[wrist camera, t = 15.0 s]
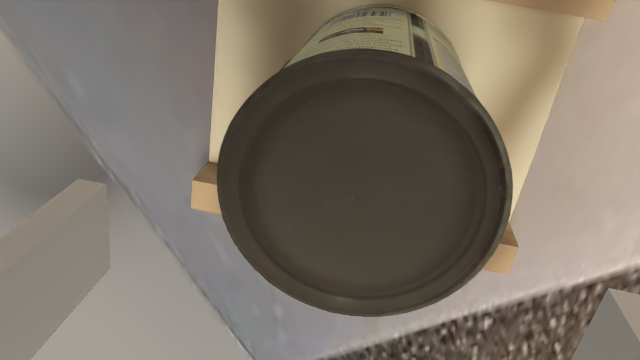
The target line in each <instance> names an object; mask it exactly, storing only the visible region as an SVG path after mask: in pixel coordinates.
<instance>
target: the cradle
mask: <svg viewBox="0 0 640 360" xmlns="http://www.w3.org/2000/svg"><path fill="white" fill-rule="evenodd" d="M614 2H615V0H219V2H218V19H217V36H216V52H215V69H214V86H213V103H212V120H211V137H210V154H209V162H208V163H207V164H206V165H205V166H204V168H203V169H202V170H201V171H200V172H199V173H198V174H197V175H196V177H195V178H194V179H193V180H192V199H191V208H193V209H198V210H202V211H207V212H212V213H217V214H221V215H222V213H221V210H220V205H219V200H218V192H217V163H218V157H219V152H220V147H221V144H222V141H223V138H224V135H225V133H226V131H227V128H228V126H229V124H230V122H231V120H232V119H233V117H234V116H235V114H236V113H237V111H238V110H239V108H240V107H241V106H242V104H243V103H244V102H245V100H246V99H247V98H248V97H249V96H250V95H251V94H252V93H253V92H254V91H255V90H256V89H257V88H258V87H259V86H260V85H262V84H263V83H264V82H265V81H266V80H267V79H269V78H270V77H271V76H273V75H274V74H276V73H277V72H279V71H280V69H281V68H282V67H283V66H284V65H285V64H286V62H288V61H289V60H290V59H291V58H292V57H293V56H294V55H295V54H296V53H297V52H298V51H299V50H300V49H301V48H302V47H303V46H304V44H306V42H307V41H308V39H309V38H310V37H311V35H312V34H313V33H314V32H315V31H316V30H317V29H318V28H319V27H320V26H321V25H322V24H323V23H324V22H326V21H328V20H329V19H331V18H332V17H334V16H336V15H337V14H339V13H342V12H344V11H346V10H349V9H352V8H355V7H359V6H363V5H371V4H393V5H395V6H401V7H404V8H407V9H410V10H412V11H415V12H417V13H419V14H421V15H423V16H424V17H426V18H428V19H429V20H430V21H432V22H433V23H434V24H435V25H436V26H438V27H439V28H440V29H441V31H442V32H443V33H444V34H445V35H446V36H447V37H448V39H449V40H450V41H451V43H452V45H453V47H454V49H455V51H456V53H457V55H458V57H459V60H460V63H461V66H462V68H463V70H464V72H465V74H466V76H467V78H468V80H469V82H470V85H471V87H472V89H473V91H474V93H475V95H476V97H477V99H478V100H479V101H480V102H481V104H482V105H483V106H484V108H485V109H486V110H487V112H488V113H489V114H490V116H491V118H492V119H493V121H494V123H495V125H496V126H497V128H498V130H499V132H500V134H501V136H502V139H503V142H504V144H505V146H506V149H507V152H508V156H509V160H510V165H511V169H512V178H513V198H512V205H511V212H510V217H509V221H510V219H511V216H512V213H513V210H514V208H515V205H516V202H517V200H518V197H519V194H520V191H521V189H522V186H523V183H524V181H525V178H526V175H527V173H528V170H529V167H530V164H531V162H532V159H533V156H534V154H535V151H536V148H537V145H538V143H539V140H540V137H541V135H542V132H543V129H544V127H545V124H546V121H547V118H548V116H549V113H550V110H551V108H552V105H553V102H554V99H555V97H556V94H557V91H558V89H559V86H560V83H561V81H562V78H563V75H564V72H565V70H566V67H567V64H568V62H569V59H570V56H571V53H572V51H573V48H574V45H575V43H576V40H577V37H578V35H579V32H580V29H581V26H582V24H583V21H584V18H589V19H595V20H601V21H607V20H608V17H609V14H610V12H611V9H612V7H613V4H614ZM509 221H508V224H507V226H506V229H505V232H504V235H503V237H502V239H501V241H500V243H499V245H498V247H497V249H496V250H495V252H494V254H493V255H492V257H491V258H490V259H489V261H488V262H487V263H486V265H485V266H484V267H483V268H482V269H483V270H488V271H493V272H497V273H502V274H507V275H508V274H509V271H510V269H511V266H512V263H513V261H514V258H515V256H516V253H517V251H518V248H519V247H518V244H517V242H516V239H515V236H514V234H513V231H512V229H511V226H510V223H509Z"/></svg>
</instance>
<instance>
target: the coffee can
mask: <svg viewBox="0 0 640 360" xmlns="http://www.w3.org/2000/svg"><path fill="white" fill-rule="evenodd" d="M217 192H218V200H219V205H220V210H221V213H222V217H223V220H224V222H225V225H226V227H227V230H228V232H229V234H230V236H231V238H232V239H233V241H234V243H235V245H236V246H237V247H238V249H239V251H240V252H241V253H242V255H243V256H244V257H245V258H246V260H247V261H248V262H249V263H250V264H251V265H252V267H253V268H254V269H255V270H256V271H257V272H259V273H260V274H261V275H262V276H263V277H264V278H265V279H266V280H267V281H268V282H270V283H271V284H272V285H273V286H275V287H276V288H278V289H279V290H281V291H282V292H284V293H286V294H287V295H289V296H291V297H292V298H294V299H297V300H299V301H301V302H303V303H305V304H308V305H310V306H313V307H316V308H319V309H322V310H325V311H328V312H332V313H337V314H343V315H350V316H363V317H381V316H391V315H397V314H403V313H407V312H411V311H415V310H417V309H421V308H424V307H426V306H429V305H432V304H434V303H437V302H439V301H440V300H442V299H444V298H446V297H448V296H450V295H451V294H453V293H454V292H456V291H457V290H459V289H460V288H462V287H463V286H464V285H465V284H466V283H468V282H469V281H470V280H471V279H472V278H474V277H475V276H476V275H477V274H478V273H479V271H480V270H481V269H482V268H483V267H484V266H485V265H486V263H487V262H488V261H489V259H490V258H491V257H492V255H493V254H494V252H495V250H496V249H497V247H498V245H499V243H500V241H501V239H502V237H503V235H504V232H505V229H506V226H507V224H508V221H509V217H510V212H511V205H512V198H513V178H512V169H511V165H510V160H509V156H508V152H507V149H506V146H505V144H504V142H503V139H502V136H501V134H500V132H499V130H498V128H497V126H496V125H495V123H494V121H493V119H492V118H491V116H490V114H489V113H488V112H487V110H486V109H485V108H484V106H483V105H482V104H481V102H480V101H479V100H478V99H477V97H476V95H475V93H474V91H473V89H472V87H471V85H470V82H469V80H468V78H467V76H466V74H465V72H464V70H463V68H462V66H461V63H460V60H459V57H458V55H457V53H456V51H455V49H454V47H453V45H452V43H451V41H450V40H449V39H448V37H447V36H446V35H445V34H444V33H443V32H442V31H441V29H440V28H439V27H438V26H436V25H435V24H434V23H433V22H432V21H430V20H429V19H428V18H426V17H424V16H423V15H421V14H419V13H417V12H415V11H412V10H410V9H407V8H404V7H401V6H395V5H393V4H371V5H363V6H359V7H355V8H352V9H349V10H346V11H344V12H342V13H339V14H337V15H336V16H334V17H332V18H331V19H329V20H328V21H326V22H324V23H323V24H322V25H321V26H320V27H319V28H318V29H317V30H316V31H315V32H314V33H313V34H312V35H311V37H310V38H309V39H308V41H307V42H306V44H304V46H303V47H302V48H301V49H300V50H299V51H298V52H297V53H296V54H295V55H294V56H293V57H292V58H291V59H290V60H289V61H288V62H286V64H285V65H284V66H283V67H282V68H281V69H280V71H279V72H277V73H276V74H274V75H273V76H271V77H270V78H269V79H267V80H266V81H265V82H264V83H263V84H262V85H260V86H259V87H258V88H257V89H256V90H255V91H254V92H253V93H252V94H251V95H250V96H249V97H248V98H247V99H246V100H245V102H244V103H243V104H242V106H241V107H240V108H239V110H238V111H237V113H236V114H235V116H234V117H233V119H232V120H231V122H230V124H229V126H228V128H227V131H226V133H225V135H224V138H223V141H222V144H221V147H220V152H219V157H218V163H217Z"/></svg>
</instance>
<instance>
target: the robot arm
mask: <svg viewBox="0 0 640 360" xmlns="http://www.w3.org/2000/svg"><path fill="white" fill-rule="evenodd" d="M109 254H110V253H109V234H108V213H107V192H106V184H101V183H96V182H92V181H86V180H82V179H78V180H76V181H75V182H74V183H73V184H71V185H70V186H69V187H68V188H66V189H65V190H63V191H62V192H61V193H59V194H58V195H57V196H55V197H54V198H53V199H51V200H50V201H49V202H48V203H47V204H45V205H43V206H42V207H41V208H40V209H38V210H37V211H36V212H34V213H33V214H32V215H30V216H29V217H28V218H26V219H25V220H24V221H22V222H21V223H20V224H19V225H17V226H16V227H14V228H13V229H12V230H11V231H9V232H8V233H7V234H5V235H4V236H3V237H1V238H0V360H30V359H31V358H32V357H33V356H34V355H35V353H36V352H37V351H38V350H39V349H40V348H41V347H42V345H43V344H44V343H45V342H46V341H47V340H48V339H49V337H50V336H51V335H52V334H53V333H54V332H55V331H56V329H57V328H58V327H59V326H60V325H61V324H62V323H63V321H64V320H65V319H66V318H67V317H68V315H69V314H70V313H71V312H72V311H73V310H74V309H75V308H76V306H77V305H78V304H79V303H80V302H81V301H82V300H83V298H84V297H85V296H86V295H87V294H88V293H89V292H90V290H91V289H92V288H93V287H94V286H95V285H96V284H97V282H98V281H99V280H100V279H101V278H102V277H103V276H104V274H105V273H106V272H107V271H108V270H109V269H110V255H109ZM571 360H640V295H639V294H634V293H629V292H624V291H619V290H614V289H610V288H608V290H607V292H606V294H605V296H604V297H603V299H602V301H601V303H600V305H599V307H598V309H597V311H596V313H595V315H594V317H593V319H592V321H591V323H590V325H589V326H588V328H587V330H586V332H585V334H584V336H583V338H582V340H581V342H580V344H579V346H578V348H577V350H576V352H575V354H574V355H573V357H572V359H571Z"/></svg>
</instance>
